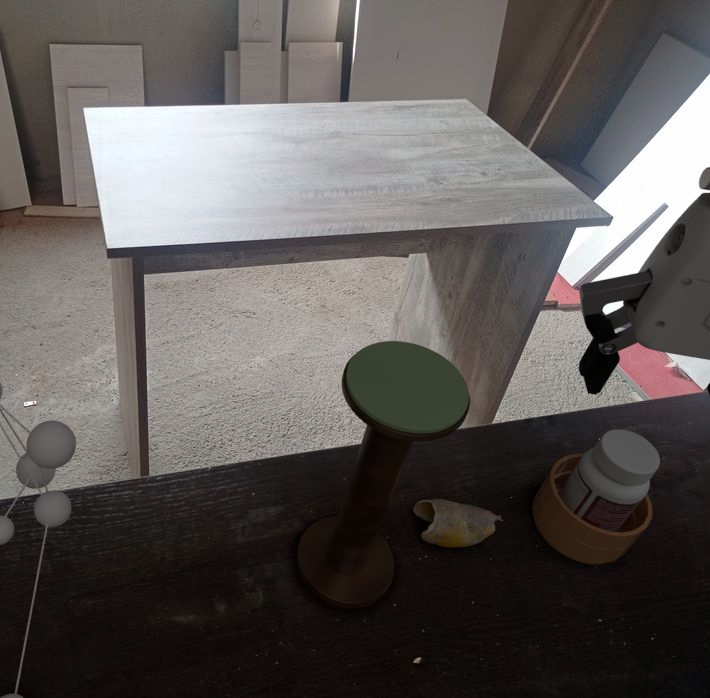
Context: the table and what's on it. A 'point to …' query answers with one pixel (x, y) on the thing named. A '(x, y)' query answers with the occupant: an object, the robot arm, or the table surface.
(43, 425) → the molecule model
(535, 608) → the table surface
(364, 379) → the coaster
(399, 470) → the stand
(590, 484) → the pill bottle
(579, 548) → the bowl
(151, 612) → the table surface
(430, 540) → the cream hollow shell
